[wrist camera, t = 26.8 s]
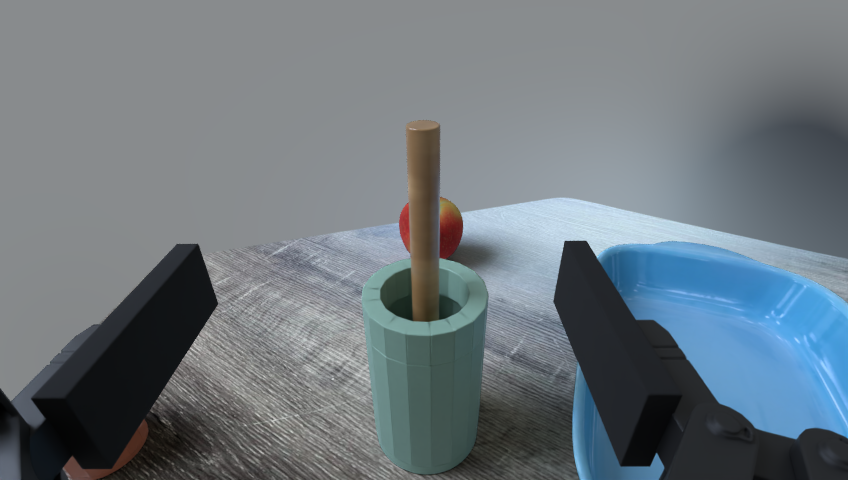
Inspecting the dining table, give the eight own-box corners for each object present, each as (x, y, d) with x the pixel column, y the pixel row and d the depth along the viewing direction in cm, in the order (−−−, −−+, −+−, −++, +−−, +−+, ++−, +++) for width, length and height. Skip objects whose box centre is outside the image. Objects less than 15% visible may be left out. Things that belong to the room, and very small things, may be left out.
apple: (444, 237, 61) (445, 172, 56) (472, 266, 55) (476, 195, 50) (392, 249, 59) (387, 182, 54) (414, 281, 52) (412, 209, 47)
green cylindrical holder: (355, 437, 34) (334, 302, 27) (416, 371, 40) (412, 245, 33) (440, 497, 30) (442, 356, 23) (494, 414, 36) (509, 280, 29)
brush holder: (49, 455, 33) (10, 404, 30) (129, 402, 38) (102, 353, 34) (80, 498, 31) (40, 447, 27) (163, 436, 35) (136, 386, 32)
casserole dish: (1121, 913, 17) (1318, 903, 13) (536, 641, 24) (555, 584, 20) (798, 316, 46) (829, 261, 42) (580, 275, 53) (591, 224, 49)
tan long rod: (396, 423, 34) (374, 127, 22) (422, 393, 37) (415, 112, 24) (433, 447, 32) (432, 139, 20) (457, 413, 35) (470, 121, 23)
